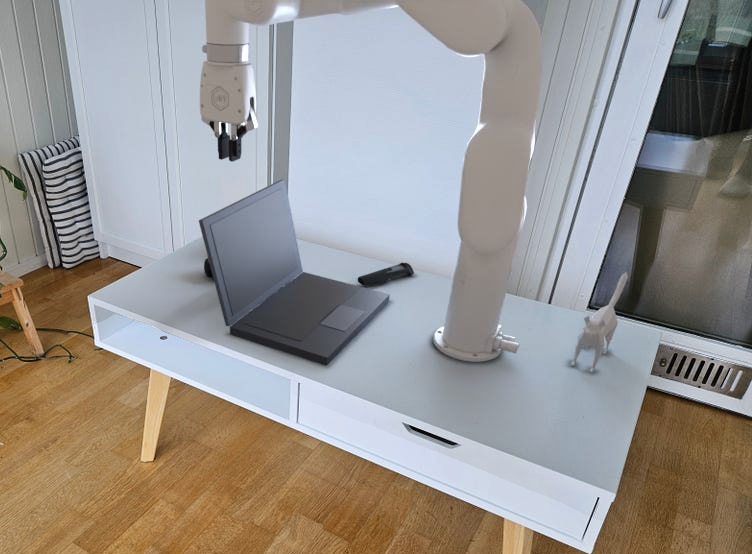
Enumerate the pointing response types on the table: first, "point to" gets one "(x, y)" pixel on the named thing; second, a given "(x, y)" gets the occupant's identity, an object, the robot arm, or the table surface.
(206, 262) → the tape measure
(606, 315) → the cat figurine
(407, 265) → the electric trimmer
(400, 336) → the table surface
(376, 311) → the dark grey flat slab
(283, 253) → the laptop screen
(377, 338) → the table surface
